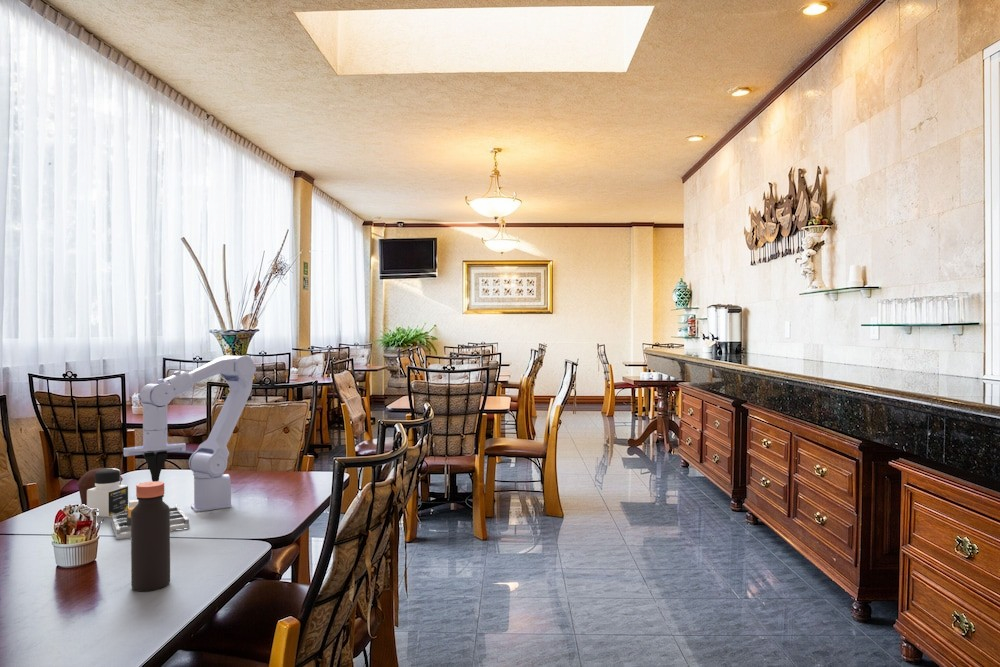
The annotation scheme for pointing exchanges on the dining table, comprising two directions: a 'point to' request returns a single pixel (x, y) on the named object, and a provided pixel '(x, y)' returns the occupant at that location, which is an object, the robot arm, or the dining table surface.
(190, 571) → the dining table surface
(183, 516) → the gray compartment tray
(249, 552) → the dining table surface
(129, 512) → the orange fader
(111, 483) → the medicine bottle
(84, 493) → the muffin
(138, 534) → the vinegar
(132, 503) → the white fader
